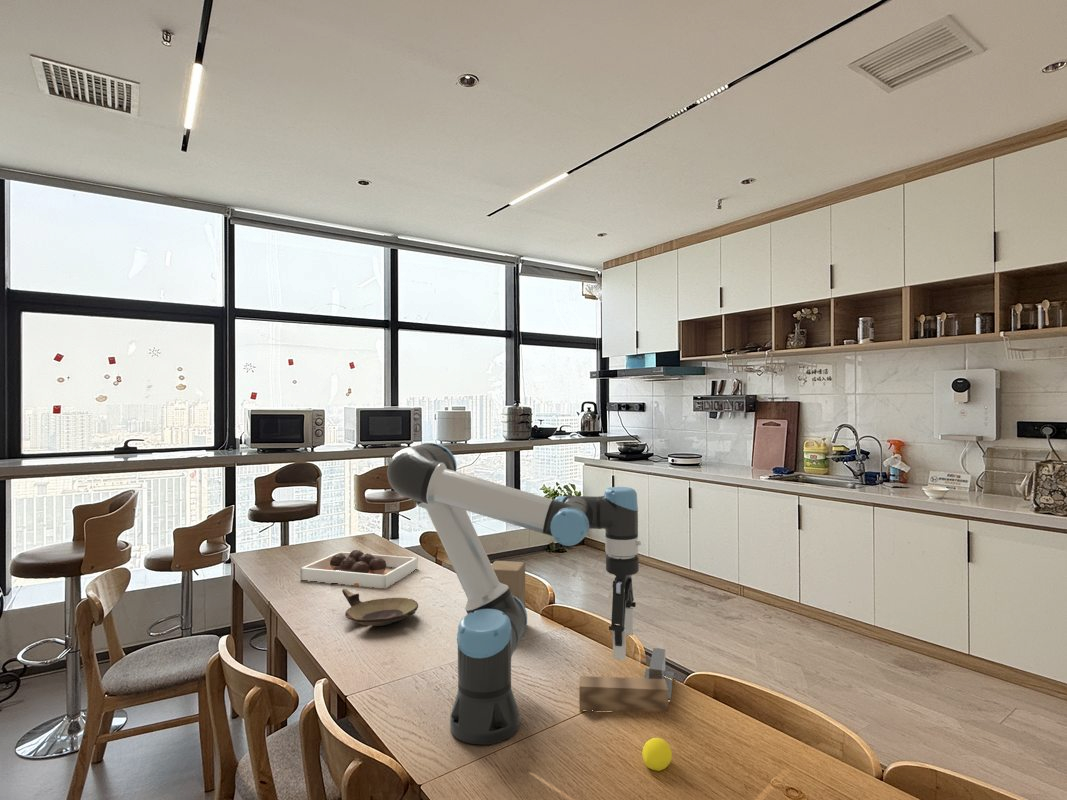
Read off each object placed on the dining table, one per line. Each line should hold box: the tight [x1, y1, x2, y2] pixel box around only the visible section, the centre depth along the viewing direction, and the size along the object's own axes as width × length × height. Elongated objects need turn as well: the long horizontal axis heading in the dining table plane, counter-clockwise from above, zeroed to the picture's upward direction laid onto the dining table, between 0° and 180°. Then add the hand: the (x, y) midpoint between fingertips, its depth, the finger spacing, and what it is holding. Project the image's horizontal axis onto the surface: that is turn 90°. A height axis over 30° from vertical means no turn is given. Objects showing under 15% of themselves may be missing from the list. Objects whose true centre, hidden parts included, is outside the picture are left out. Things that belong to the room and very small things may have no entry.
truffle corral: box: [299, 551, 419, 590], centre depth 238 cm, size 26×38×5 cm
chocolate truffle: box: [324, 549, 389, 587], centre depth 239 cm, size 28×17×8 cm, turn 46°
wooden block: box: [491, 560, 526, 608], centre depth 181 cm, size 10×10×20 cm
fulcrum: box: [643, 647, 675, 700], centre depth 145 cm, size 14×7×7 cm, turn 163°
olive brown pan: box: [341, 588, 419, 627], centre depth 190 cm, size 22×30×8 cm
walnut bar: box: [578, 675, 669, 713], centre depth 135 cm, size 20×5×6 cm, turn 85°
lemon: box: [641, 737, 673, 772], centre depth 113 cm, size 7×5×5 cm
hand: (623, 646), depth 135 cm, fingers open, 13 cm apart
